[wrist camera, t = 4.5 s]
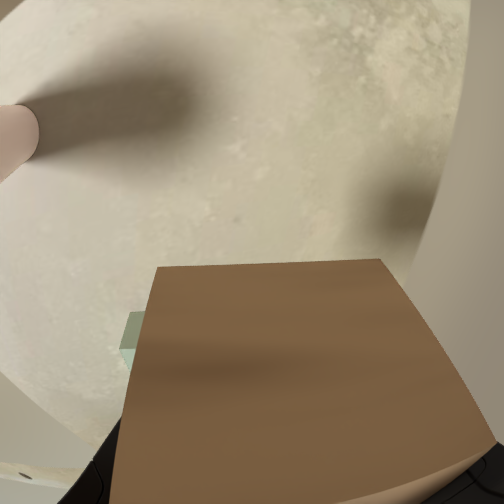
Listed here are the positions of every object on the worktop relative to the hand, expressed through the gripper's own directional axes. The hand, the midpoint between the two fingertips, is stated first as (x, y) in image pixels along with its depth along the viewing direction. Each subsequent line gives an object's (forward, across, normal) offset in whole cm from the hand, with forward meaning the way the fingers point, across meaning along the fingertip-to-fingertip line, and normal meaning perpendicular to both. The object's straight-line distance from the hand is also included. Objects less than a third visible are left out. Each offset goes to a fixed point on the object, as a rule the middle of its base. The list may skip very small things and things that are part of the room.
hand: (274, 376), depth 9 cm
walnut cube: (+1, 0, 0) cm, 1 cm away
